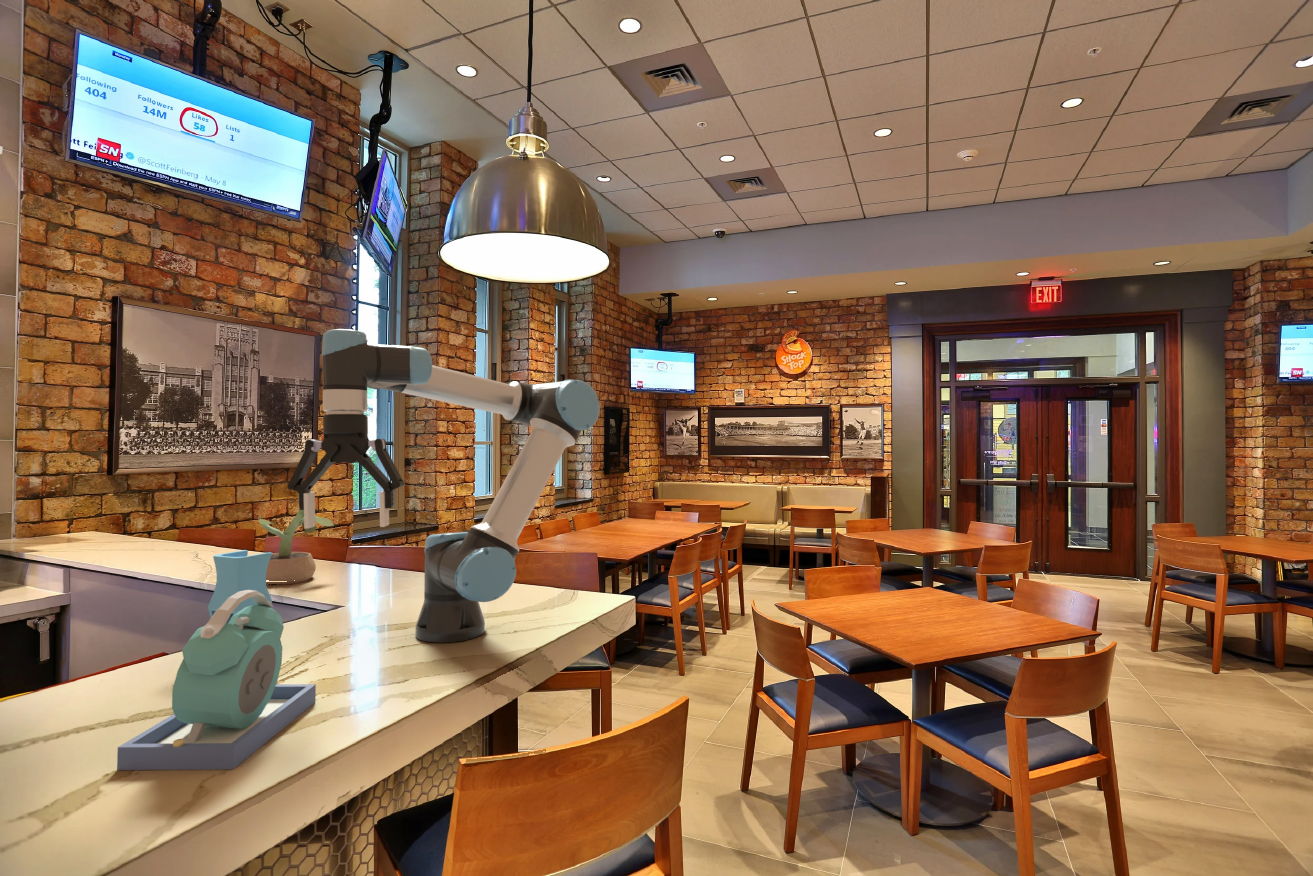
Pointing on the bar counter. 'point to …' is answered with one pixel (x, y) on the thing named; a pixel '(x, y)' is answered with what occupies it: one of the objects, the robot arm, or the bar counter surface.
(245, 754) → the shallow rectangular tray
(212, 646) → the alarm clock
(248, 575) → the vase
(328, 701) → the bar counter surface
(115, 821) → the bar counter surface
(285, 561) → the potted plant
